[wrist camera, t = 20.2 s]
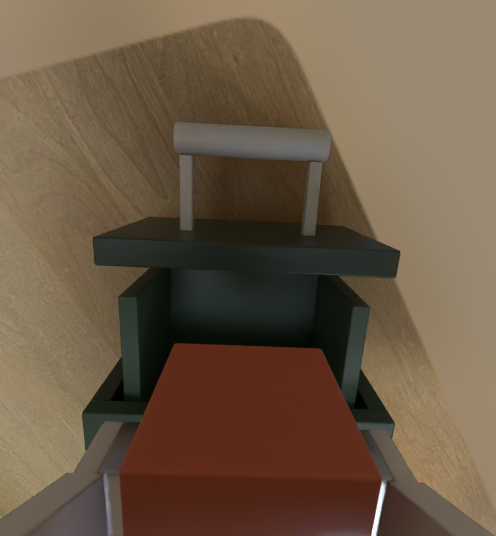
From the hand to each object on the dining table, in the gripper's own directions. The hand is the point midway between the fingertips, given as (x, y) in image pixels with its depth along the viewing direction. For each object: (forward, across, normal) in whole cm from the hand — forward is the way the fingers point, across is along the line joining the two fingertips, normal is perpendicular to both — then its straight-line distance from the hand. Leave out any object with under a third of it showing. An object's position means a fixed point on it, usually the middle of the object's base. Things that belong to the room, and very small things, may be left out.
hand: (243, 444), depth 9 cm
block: (+2, 0, 0) cm, 2 cm away
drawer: (+14, 0, 0) cm, 14 cm away
